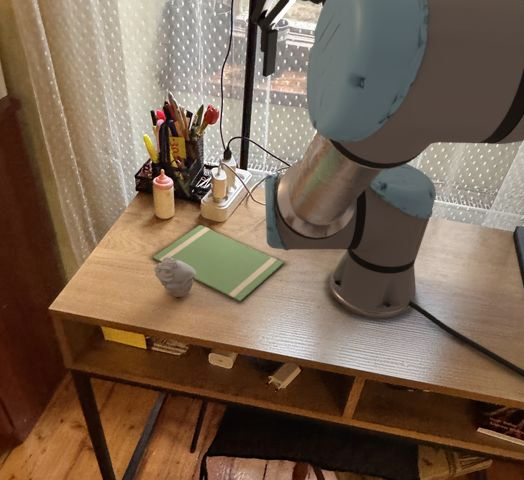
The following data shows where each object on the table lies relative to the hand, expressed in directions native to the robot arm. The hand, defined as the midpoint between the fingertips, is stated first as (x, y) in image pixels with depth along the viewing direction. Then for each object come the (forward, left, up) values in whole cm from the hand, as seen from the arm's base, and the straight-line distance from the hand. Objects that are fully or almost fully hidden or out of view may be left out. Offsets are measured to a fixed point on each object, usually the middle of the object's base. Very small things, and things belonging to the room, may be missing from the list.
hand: (302, 85), depth 89 cm
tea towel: (+5, +16, -29) cm, 33 cm away
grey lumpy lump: (+5, +28, -29) cm, 41 cm away
